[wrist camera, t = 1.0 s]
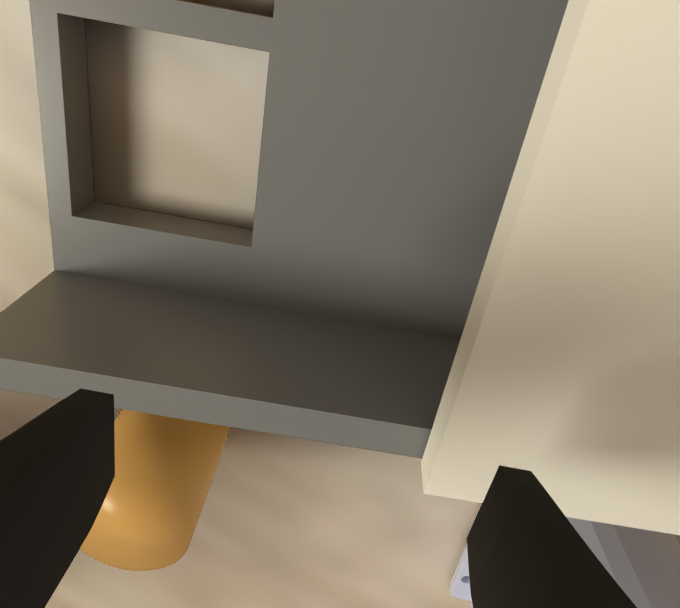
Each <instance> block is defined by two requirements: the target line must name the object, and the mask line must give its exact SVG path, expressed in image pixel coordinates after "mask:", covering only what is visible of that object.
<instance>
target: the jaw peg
mask: <svg viewBox="0 0 680 608" xmlns="http://www.w3.org/2000/svg"><path fill="white" fill-rule="evenodd" d="M229 430H230V427H228V426H222V425H215V424H209V423H203V422H197V421H191V420H185V419H179V418H173V417H167V416H161V415H155V414H149V413H143V412H136V411H130V410H124V409H122V411H121V412H120V414H119V415H118V417H117V419H116V420H115V422H114V436H115V477H114V479H113V482H112V484H111V486H110V488H109V491H108V493H107V495H106V498H105V500H104V502H103V504H102V507H101V509H100V511H99V513H98V515H97V517H96V520H95V522H94V524H93V526H92V528H91V530H90V532H89V533H88V535H87V537H86V539H85V540H84V542H83V544H82V545H81V547H80V549H81V550H82V551H83V552H85V553H86V554H87V555H89V556H91V557H92V558H94V559H96V560H98V561H100V562H102V563H105V564H108V565H110V566H114V567H117V568H121V569H127V570H135V571H146V570H155V569H160V568H164V567H166V566H169V565H171V564H173V563H175V562H176V561H178V560H179V559H180V558H181V557H182V556H183V555H184V554H185V552H186V551H187V549H188V546H189V544H190V541H191V538H192V535H193V532H194V529H195V527H196V524H197V521H198V518H199V515H200V512H201V509H202V507H203V504H204V501H205V498H206V495H207V492H208V490H209V487H210V484H211V481H212V478H213V475H214V472H215V470H216V467H217V464H218V461H219V458H220V455H221V452H222V450H223V447H224V444H225V441H226V438H227V435H228V432H229Z"/></svg>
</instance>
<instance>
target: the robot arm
mask: <svg viewBox="0 0 680 608" xmlns="http://www.w3.org/2000/svg"><path fill="white" fill-rule="evenodd" d="M114 477H115V436H114V394H109V393H103V392H98V391H92V390H87V389H81V388H80V389H79V390H77V391H76V392H74V393H73V394H71V395H69V396H68V397H66V398H65V399H63V400H62V401H60V402H58V403H57V404H55V405H54V406H52V407H51V408H49V409H48V410H46V411H45V412H43V413H42V414H40V415H39V416H37V417H36V418H34V419H33V420H31V421H30V422H28V423H27V424H25V425H24V426H22V427H21V428H19V429H18V430H16V431H15V432H13V433H12V434H10V435H8V436H7V437H5V438H4V439H2V440H1V441H0V608H45V606H46V604H47V603H48V601H49V599H50V598H51V596H52V594H53V593H54V591H55V589H56V588H57V586H58V584H59V583H60V581H61V579H62V578H63V576H64V574H65V573H66V571H67V569H68V567H69V566H70V564H71V562H72V561H73V559H74V557H75V556H76V554H77V552H78V551H79V549H80V547H81V545H82V544H83V542H84V540H85V539H86V537H87V535H88V533H89V532H90V530H91V528H92V526H93V524H94V522H95V520H96V517H97V515H98V513H99V511H100V509H101V507H102V504H103V502H104V500H105V498H106V495H107V493H108V491H109V488H110V486H111V484H112V482H113V479H114ZM450 593H451V595H452V596H453V597H454V598H457V599H462V600H469V601H471V606H472V608H680V543H679V542H678V540H677V538H676V536H675V535H674V534H669V533H663V532H656V531H650V530H644V529H638V528H632V527H626V526H619V525H613V524H607V523H601V522H595V521H589V520H583V519H576V518H570V517H566V516H565V515H564V514H563V512H562V511H561V510H560V508H559V507H558V506H557V504H556V503H555V502H554V500H553V499H552V498H551V496H550V495H549V494H548V492H547V491H546V490H545V488H544V487H543V486H542V484H541V483H540V482H539V480H538V479H537V478H536V477H535V475H534V474H533V473H532V472H531V471H528V470H522V469H517V468H512V467H506V466H501V465H499V467H498V469H497V472H496V474H495V476H494V478H493V481H492V483H491V485H490V487H489V490H488V492H487V494H486V496H485V499H484V501H483V503H482V505H481V508H480V510H479V512H478V514H477V517H476V519H475V521H474V523H473V526H472V528H471V530H470V532H469V535H468V537H467V544H466V546H465V549H464V551H463V554H462V556H461V558H460V561H459V563H458V566H457V568H456V571H455V573H454V575H453V578H452V580H451V583H450Z"/></svg>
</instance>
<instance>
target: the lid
mask: <svg viewBox="0 0 680 608" xmlns="http://www.w3.org/2000/svg"><path fill="white" fill-rule="evenodd" d="M499 465H501V466H506V467H512V468H517V469H522V470H528V471H531V472H532V473H533V474H534V475H535V477H536V478H537V479H538V480H539V482H540V483H541V484H542V486H543V487H544V488H545V490H546V491H547V492H548V494H549V495H550V496H551V498H552V499H553V500H554V502H555V503H556V504H557V506H558V507H559V508H560V510H561V511H562V512H563V514H564V515H565V516H566V517H570V518H576V519H583V520H589V521H595V522H601V523H607V524H613V525H619V526H626V527H632V528H638V529H644V530H650V531H656V532H663V533H669V534H675V535H680V0H569V1H568V4H567V7H566V10H565V13H564V17H563V20H562V23H561V26H560V29H559V32H558V35H557V39H556V42H555V45H554V48H553V51H552V54H551V57H550V60H549V64H548V67H547V70H546V73H545V76H544V79H543V82H542V85H541V89H540V92H539V95H538V98H537V101H536V104H535V107H534V111H533V114H532V117H531V120H530V123H529V126H528V129H527V132H526V136H525V139H524V142H523V145H522V148H521V151H520V154H519V158H518V161H517V164H516V167H515V170H514V173H513V176H512V179H511V183H510V186H509V189H508V192H507V195H506V198H505V201H504V204H503V208H502V211H501V214H500V217H499V220H498V223H497V226H496V230H495V233H494V236H493V239H492V242H491V245H490V248H489V251H488V255H487V258H486V261H485V264H484V267H483V270H482V273H481V277H480V280H479V283H478V286H477V289H476V292H475V295H474V298H473V302H472V305H471V308H470V311H469V314H468V317H467V320H466V323H465V327H464V330H463V333H462V336H461V339H460V342H459V345H458V349H457V352H456V355H455V358H454V361H453V364H452V367H451V370H450V374H449V377H448V380H447V383H446V386H445V389H444V392H443V396H442V399H441V402H440V405H439V408H438V411H437V414H436V417H435V421H434V424H433V427H432V430H431V433H430V436H429V439H428V442H427V446H426V449H425V452H424V455H423V458H422V461H421V471H422V480H423V490H424V494H429V495H435V496H441V497H447V498H453V499H460V500H466V501H472V502H478V503H483V501H484V499H485V496H486V494H487V492H488V490H489V487H490V485H491V483H492V481H493V478H494V476H495V474H496V472H497V469H498V467H499Z"/></svg>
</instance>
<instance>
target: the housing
mask: <svg viewBox="0 0 680 608" xmlns="http://www.w3.org/2000/svg"><path fill="white" fill-rule="evenodd" d="M568 1H569V0H275V2H274V12H273V17H271V16H266V15H261V14H255V13H250V12H245V11H239V10H234V9H229V8H223V7H218V6H213V5H207V4H202V3H197V2H191V1H186V0H29V2H30V13H31V24H32V34H33V45H34V56H35V66H36V77H37V88H38V98H39V109H40V120H41V130H42V141H43V152H44V163H45V173H46V184H47V195H48V205H49V216H50V227H51V237H52V248H53V259H54V269H55V270H54V271H53V272H52V273H51V274H49V275H48V276H47V277H46V278H44V279H43V280H42V281H40V282H39V283H38V284H37V285H35V286H34V287H33V288H32V289H30V290H29V291H28V292H26V293H25V294H24V295H23V296H21V297H20V298H19V299H18V300H16V301H15V302H14V303H12V304H11V305H10V306H9V307H7V308H6V309H5V310H4V311H2V312H1V313H0V389H3V390H9V391H15V392H21V393H27V394H33V395H39V396H45V397H51V398H57V399H65V398H66V397H68V396H69V395H71V394H73V393H74V392H76V391H77V390H79V389H80V388H81V389H87V390H92V391H98V392H103V393H109V394H114V408H118V409H124V410H130V411H136V412H143V413H149V414H155V415H161V416H167V417H173V418H179V419H185V420H191V421H197V422H203V423H209V424H215V425H222V426H228V427H234V428H240V429H246V430H252V431H258V432H264V433H270V434H276V435H282V436H288V437H294V438H301V439H307V440H313V441H319V442H325V443H331V444H337V445H343V446H349V447H355V448H361V449H367V450H373V451H380V452H386V453H392V454H398V455H404V456H410V457H416V458H423V455H424V452H425V449H426V446H427V442H428V439H429V436H430V433H431V430H432V427H433V424H434V421H435V417H436V414H437V411H438V408H439V405H440V402H441V399H442V396H443V392H444V389H445V386H446V383H447V380H448V377H449V374H450V370H451V367H452V364H453V361H454V358H455V355H456V352H457V349H458V345H459V342H460V339H461V336H462V333H463V330H464V327H465V323H466V320H467V317H468V314H469V311H470V308H471V305H472V302H473V298H474V295H475V292H476V289H477V286H478V283H479V280H480V277H481V273H482V270H483V267H484V264H485V261H486V258H487V255H488V251H489V248H490V245H491V242H492V239H493V236H494V233H495V230H496V226H497V223H498V220H499V217H500V214H501V211H502V208H503V204H504V201H505V198H506V195H507V192H508V189H509V186H510V183H511V179H512V176H513V173H514V170H515V167H516V164H517V161H518V158H519V154H520V151H521V148H522V145H523V142H524V139H525V136H526V132H527V129H528V126H529V123H530V120H531V117H532V114H533V111H534V107H535V104H536V101H537V98H538V95H539V92H540V89H541V85H542V82H543V79H544V76H545V73H546V70H547V67H548V64H549V60H550V57H551V54H552V51H553V48H554V45H555V42H556V39H557V35H558V32H559V29H560V26H561V23H562V20H563V17H564V13H565V10H566V7H567V4H568ZM85 18H88V19H93V20H99V21H104V22H110V23H115V24H120V25H126V26H131V27H137V28H142V29H147V30H153V31H158V32H164V33H169V34H174V35H180V36H185V37H191V38H196V39H201V40H207V41H212V42H218V43H223V44H228V45H234V46H239V47H245V48H250V49H255V50H261V51H266V52H270V55H269V65H268V76H267V86H266V97H265V108H264V118H263V129H262V140H261V150H260V161H259V171H258V182H257V193H256V203H255V214H254V224H253V229H247V228H241V227H236V226H230V225H224V224H218V223H213V222H207V221H201V220H196V219H190V218H184V217H179V216H173V215H167V214H161V213H156V212H150V211H144V210H139V209H133V208H127V207H122V206H116V205H110V204H104V203H99V202H94V191H93V172H92V153H91V134H90V114H89V95H88V76H87V57H86V38H85Z"/></svg>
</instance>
